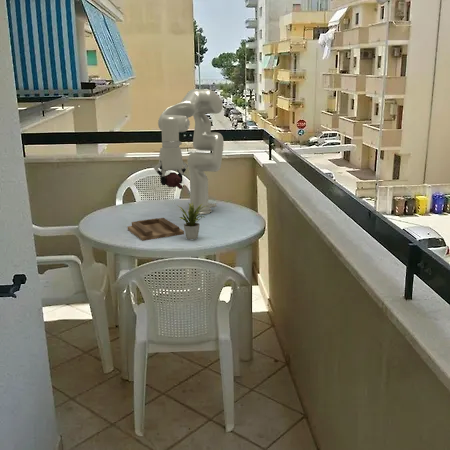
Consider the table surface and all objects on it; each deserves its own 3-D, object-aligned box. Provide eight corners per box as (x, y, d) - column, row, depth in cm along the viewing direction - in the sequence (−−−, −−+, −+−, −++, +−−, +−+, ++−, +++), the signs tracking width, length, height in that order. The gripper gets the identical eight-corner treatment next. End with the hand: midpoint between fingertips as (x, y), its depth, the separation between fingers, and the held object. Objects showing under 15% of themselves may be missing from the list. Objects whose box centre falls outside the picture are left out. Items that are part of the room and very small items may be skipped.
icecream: (155, 171, 232) (172, 179, 221) (169, 166, 236) (186, 173, 224) (159, 185, 235) (175, 193, 224) (172, 180, 239) (189, 188, 227)
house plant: (216, 239, 223) (216, 203, 218) (188, 245, 215) (187, 207, 211) (199, 232, 234) (199, 197, 230) (173, 236, 227) (171, 201, 222)
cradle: (167, 223, 248) (166, 216, 247) (184, 234, 231) (183, 226, 230) (127, 229, 238) (127, 222, 237) (142, 240, 222) (141, 233, 221)
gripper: (184, 143, 234) (185, 180, 238) (149, 145, 225) (150, 184, 230) (191, 144, 227) (192, 183, 232) (155, 146, 219) (157, 187, 223)
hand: (171, 183), depth 231 cm, fingers closed on icecream, 7 cm apart
